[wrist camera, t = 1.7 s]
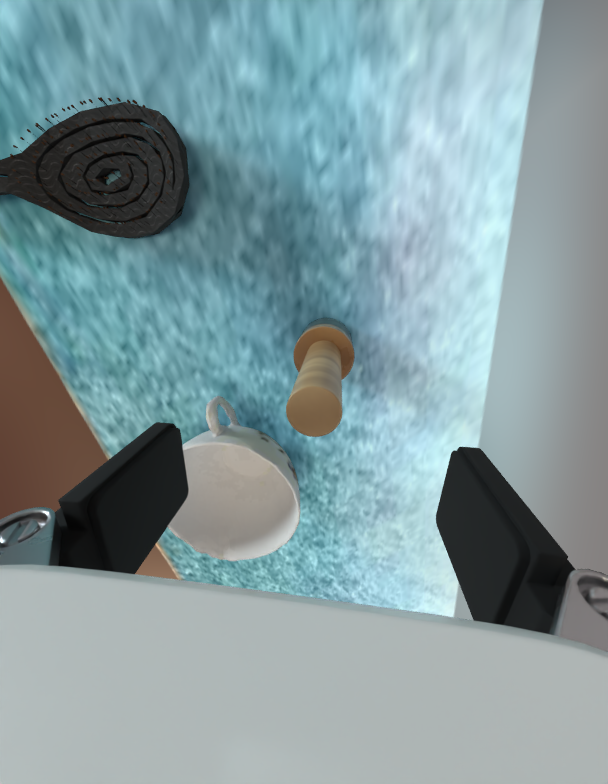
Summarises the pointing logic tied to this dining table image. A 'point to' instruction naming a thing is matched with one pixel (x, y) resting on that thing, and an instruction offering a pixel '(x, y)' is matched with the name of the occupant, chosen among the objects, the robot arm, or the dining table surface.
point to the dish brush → (320, 377)
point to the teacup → (236, 491)
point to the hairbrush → (104, 170)
